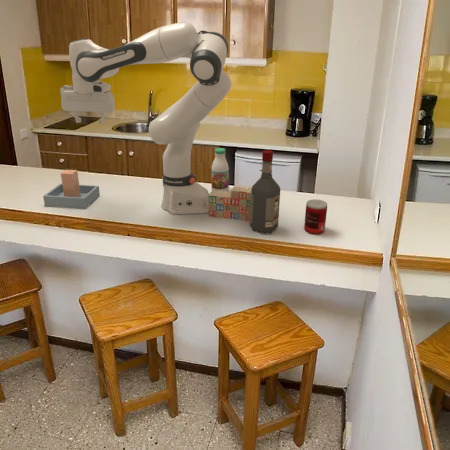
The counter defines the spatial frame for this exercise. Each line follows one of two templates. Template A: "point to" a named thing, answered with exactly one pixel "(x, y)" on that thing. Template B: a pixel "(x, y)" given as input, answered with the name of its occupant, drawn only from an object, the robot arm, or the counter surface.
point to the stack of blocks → (231, 203)
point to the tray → (59, 200)
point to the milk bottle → (220, 171)
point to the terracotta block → (70, 183)
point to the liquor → (265, 199)
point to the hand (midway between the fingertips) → (90, 122)
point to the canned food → (315, 216)
